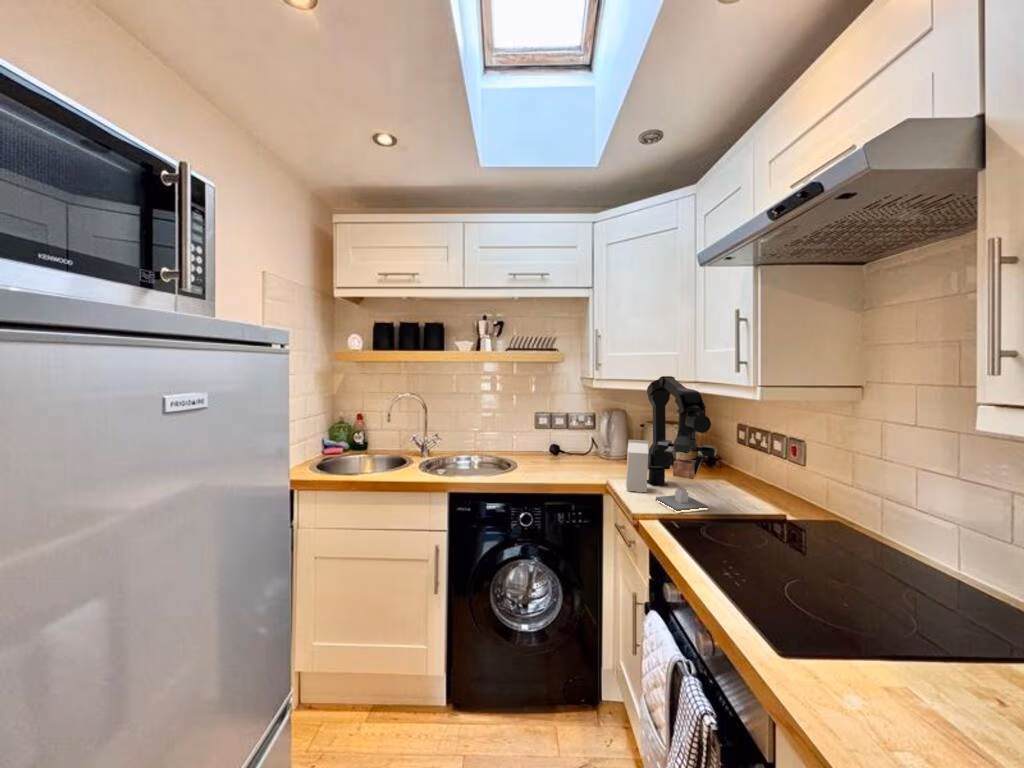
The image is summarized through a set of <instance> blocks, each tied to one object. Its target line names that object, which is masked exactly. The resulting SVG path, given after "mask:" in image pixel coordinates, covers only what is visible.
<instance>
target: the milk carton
mask: <svg viewBox="0 0 1024 768" xmlns="http://www.w3.org/2000/svg"><path fill="white" fill-rule="evenodd" d="M626 451H627V455H626V456H627V458H626V473H625V475H626V478H625V487H626V491H627V492H630V491H636V492H635V493H642V492H646V493H647V489H648V483H647V480H648V473H649V469H648V453H649V440H643V439H642V440H641V439H640V440H639V439H628V441H627V450H626Z"/></svg>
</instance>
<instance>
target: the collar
mask: <svg viewBox="0 0 1024 768" xmlns="http://www.w3.org/2000/svg"><path fill="white" fill-rule="evenodd" d="M695 465H696V460H694V459H687V458H680V457H677V458H676V460H675V461H674V466H672V469H673V470H672V471H673V473H672V477H675V478H676V477H677V478H683V479H690V480H694V479H695V478H696V477H697V475H698V473H697V474H696V475H695Z"/></svg>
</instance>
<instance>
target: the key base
mask: <svg viewBox="0 0 1024 768" xmlns="http://www.w3.org/2000/svg"><path fill="white" fill-rule="evenodd" d="M674 491H675V492H674V493H675V494H674V495H664V496H662V495H661V496H655V501H656V500H658V501H660V502H662V503H664V504H665V505H667V506H669V507H671V508H673V509H674V510H676V511H681V510H690V509H699V508H708V509H709V506H708V505H707V504H705V503H703V502H701V501H698V500H697V499H695V498H694V497H691V496H689V492H688V489H687V488H685V487H677V488H676V490H674Z"/></svg>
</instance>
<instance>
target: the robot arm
mask: <svg viewBox="0 0 1024 768" xmlns="http://www.w3.org/2000/svg"><path fill="white" fill-rule="evenodd" d="M646 394H647V398H648V401H649V403H650V405H651V406H652V443H651V445H650V447H648V474H647V484H649V485H651V486H652V487H657V486H658V487H659V486H668V484H669V483H667V482H665V480H666V470H670V469H671V465H672V467H673V466H674V461H675V460H676V459H677V453H682V454H689V453H690V452H695V453H697V455H696V456H695V459H696V465H695V475H696V474H697V475H698V471H699V469H700V466H701V464H702V462H703V460H704V459H706V458H708V457H710V458H714V457H716V456H717V454H718V447H717V445H710V444H703V446H699V445H698V441H697V433H700V434H703V433H704V434H705V433H707V432H708V431H709V430H710V429H711V426H712V421H711V419H710V417H708V416H707V415H706V410H707V409H706V405H705V402H704V400H703V398H702V394H701V393H700V392H699V391H698V390H695V389H691V388H688V387H685V386H684V385H683V384H682V383H681V382H679V381H678V380H676V378H675V377H674V376H671V375H663V376H662V375H661V376H660V377H659V378H657V379H656V380H654V381H652V382H650V384H649V385H648V386H647V388H646ZM671 395H672V396H673V397H674V398H675V399H674V403H675V404H676V405H677V407H678V408H677V410H676V412H677V413H678V423H677V424H678V425H677V426H678V427H677V435H676V437H675V439H674V441H673V440H670V439H666V438H667V436H666V433H667V431H666V428H667V427H666V406H667V404H668V403H669V401H670V400H671V399H670V398H671ZM672 441H673V442H672ZM697 475H696V476H697Z"/></svg>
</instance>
